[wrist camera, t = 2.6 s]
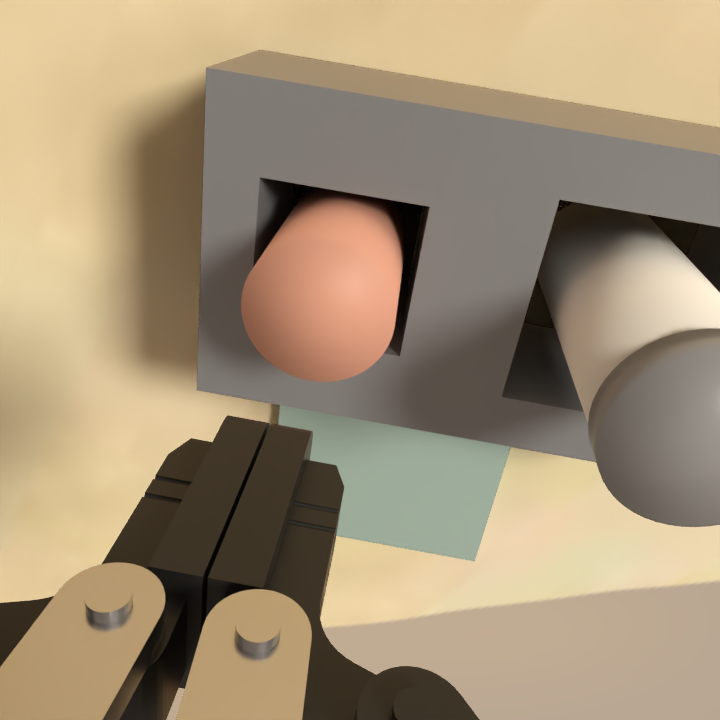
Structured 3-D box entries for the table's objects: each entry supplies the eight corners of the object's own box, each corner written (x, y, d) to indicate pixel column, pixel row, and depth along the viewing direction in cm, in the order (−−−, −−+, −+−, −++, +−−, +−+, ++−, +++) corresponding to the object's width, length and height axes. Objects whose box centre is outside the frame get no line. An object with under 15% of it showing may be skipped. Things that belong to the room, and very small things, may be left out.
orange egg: (282, 283, 23) (236, 367, 18) (292, 169, 22) (245, 226, 16) (395, 303, 23) (382, 393, 18) (416, 190, 21) (408, 255, 16)
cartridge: (517, 300, 26) (569, 507, 16) (551, 182, 24) (639, 332, 13) (635, 320, 26) (768, 542, 16) (680, 204, 24) (870, 372, 13)
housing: (243, 314, 28) (196, 390, 22) (260, 49, 23) (206, 67, 18) (679, 392, 27) (735, 487, 22) (792, 139, 22) (899, 185, 17)
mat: (270, 514, 33) (267, 523, 32) (287, 354, 28) (284, 361, 28) (473, 552, 32) (474, 561, 32) (522, 396, 28) (524, 404, 28)
